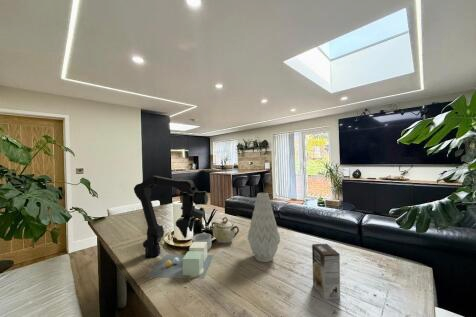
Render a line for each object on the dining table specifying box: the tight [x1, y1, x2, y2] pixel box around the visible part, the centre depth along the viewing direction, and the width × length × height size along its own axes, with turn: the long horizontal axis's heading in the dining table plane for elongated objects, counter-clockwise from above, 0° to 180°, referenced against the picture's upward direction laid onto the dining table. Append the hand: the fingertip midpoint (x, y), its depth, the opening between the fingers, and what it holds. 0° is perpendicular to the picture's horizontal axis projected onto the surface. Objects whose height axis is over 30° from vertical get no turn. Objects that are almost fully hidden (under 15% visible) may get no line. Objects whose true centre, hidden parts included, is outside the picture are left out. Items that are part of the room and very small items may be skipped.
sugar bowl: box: [211, 216, 240, 244], centre depth 125 cm, size 20×15×15 cm
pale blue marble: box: [173, 257, 179, 264], centre depth 97 cm, size 3×3×3 cm
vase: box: [247, 192, 281, 263], centre depth 103 cm, size 17×17×33 cm
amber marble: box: [165, 260, 172, 267], centre depth 95 cm, size 3×3×3 cm
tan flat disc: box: [184, 268, 204, 277], centre depth 90 cm, size 9×9×1 cm
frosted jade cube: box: [183, 251, 203, 275], centre depth 90 cm, size 7×7×7 cm
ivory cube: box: [188, 242, 208, 262], centre depth 102 cm, size 7×7×7 cm
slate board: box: [144, 253, 215, 280], centre depth 96 cm, size 26×21×1 cm
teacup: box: [191, 232, 212, 252], centre depth 114 cm, size 14×11×8 cm
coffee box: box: [311, 243, 341, 300], centre depth 76 cm, size 9×6×16 cm
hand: (188, 234), depth 105 cm, fingers open, 9 cm apart
